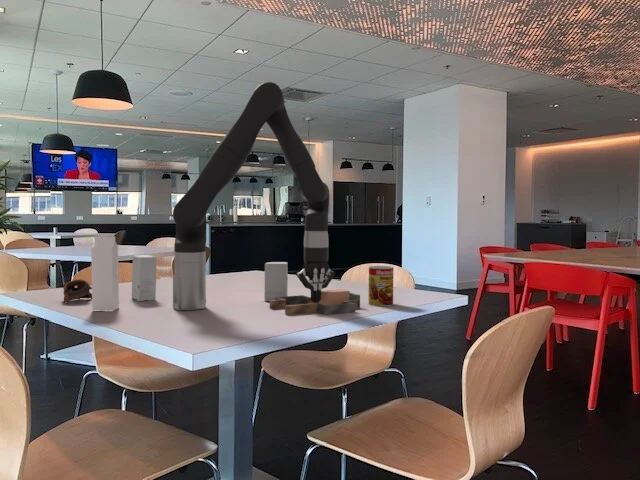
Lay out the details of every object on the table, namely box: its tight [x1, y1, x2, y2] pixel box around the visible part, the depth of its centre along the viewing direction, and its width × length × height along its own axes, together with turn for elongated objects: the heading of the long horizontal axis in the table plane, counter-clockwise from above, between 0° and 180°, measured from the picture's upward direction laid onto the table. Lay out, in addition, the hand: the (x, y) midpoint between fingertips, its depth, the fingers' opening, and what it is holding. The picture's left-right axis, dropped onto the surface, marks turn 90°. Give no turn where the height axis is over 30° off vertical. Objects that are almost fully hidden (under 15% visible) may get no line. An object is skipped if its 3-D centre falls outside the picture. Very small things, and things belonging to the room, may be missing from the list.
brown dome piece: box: [62, 279, 92, 303], centre depth 170 cm, size 12×10×8 cm
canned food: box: [368, 265, 394, 307], centre depth 167 cm, size 8×8×12 cm
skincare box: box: [131, 254, 158, 302], centre depth 175 cm, size 8×6×15 cm
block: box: [319, 288, 351, 305], centre depth 161 cm, size 8×5×5 cm, turn 121°
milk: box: [90, 235, 120, 311], centre depth 154 cm, size 6×6×22 cm
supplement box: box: [264, 261, 289, 302], centre depth 175 cm, size 7×7×13 cm
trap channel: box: [269, 292, 361, 316], centre depth 158 cm, size 25×22×4 cm
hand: (315, 302), depth 159 cm, fingers closed
